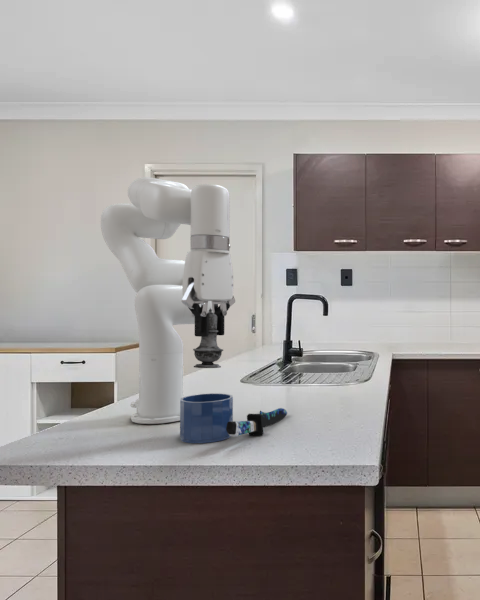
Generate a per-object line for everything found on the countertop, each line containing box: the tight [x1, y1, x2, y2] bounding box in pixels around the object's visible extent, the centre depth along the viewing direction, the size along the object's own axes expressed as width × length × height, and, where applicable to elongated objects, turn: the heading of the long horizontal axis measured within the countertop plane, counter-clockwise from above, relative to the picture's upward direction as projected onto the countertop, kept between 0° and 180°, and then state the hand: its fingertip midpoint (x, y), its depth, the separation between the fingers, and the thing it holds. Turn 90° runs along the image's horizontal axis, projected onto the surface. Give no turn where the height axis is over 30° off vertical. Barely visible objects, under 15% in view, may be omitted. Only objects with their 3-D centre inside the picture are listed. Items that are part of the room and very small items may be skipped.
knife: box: [226, 407, 288, 437], centre depth 110 cm, size 31×3×4 cm, turn 169°
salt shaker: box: [192, 308, 224, 369], centre depth 106 cm, size 6×6×12 cm
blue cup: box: [179, 392, 234, 444], centre depth 106 cm, size 10×10×8 cm
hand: (209, 334), depth 106 cm, fingers closed on salt shaker, 3 cm apart
